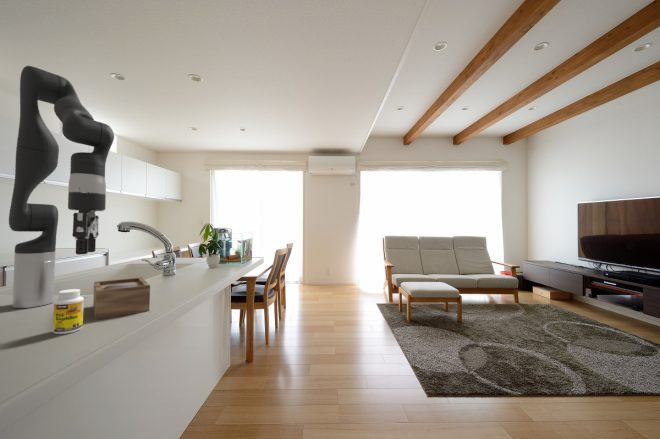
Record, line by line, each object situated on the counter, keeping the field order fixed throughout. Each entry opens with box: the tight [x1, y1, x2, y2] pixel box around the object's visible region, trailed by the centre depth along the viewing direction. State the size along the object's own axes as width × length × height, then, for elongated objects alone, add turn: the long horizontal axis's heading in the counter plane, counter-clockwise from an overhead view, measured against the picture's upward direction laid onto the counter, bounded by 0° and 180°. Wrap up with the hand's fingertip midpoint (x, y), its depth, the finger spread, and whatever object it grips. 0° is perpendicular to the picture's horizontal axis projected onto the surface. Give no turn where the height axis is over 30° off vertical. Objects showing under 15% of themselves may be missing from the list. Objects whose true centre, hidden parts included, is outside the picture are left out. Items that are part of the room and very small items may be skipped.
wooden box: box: [92, 277, 151, 320], centre depth 88 cm, size 16×13×8 cm
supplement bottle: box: [52, 288, 85, 335], centre depth 70 cm, size 6×6×10 cm
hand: (86, 253), depth 73 cm, fingers open, 8 cm apart
